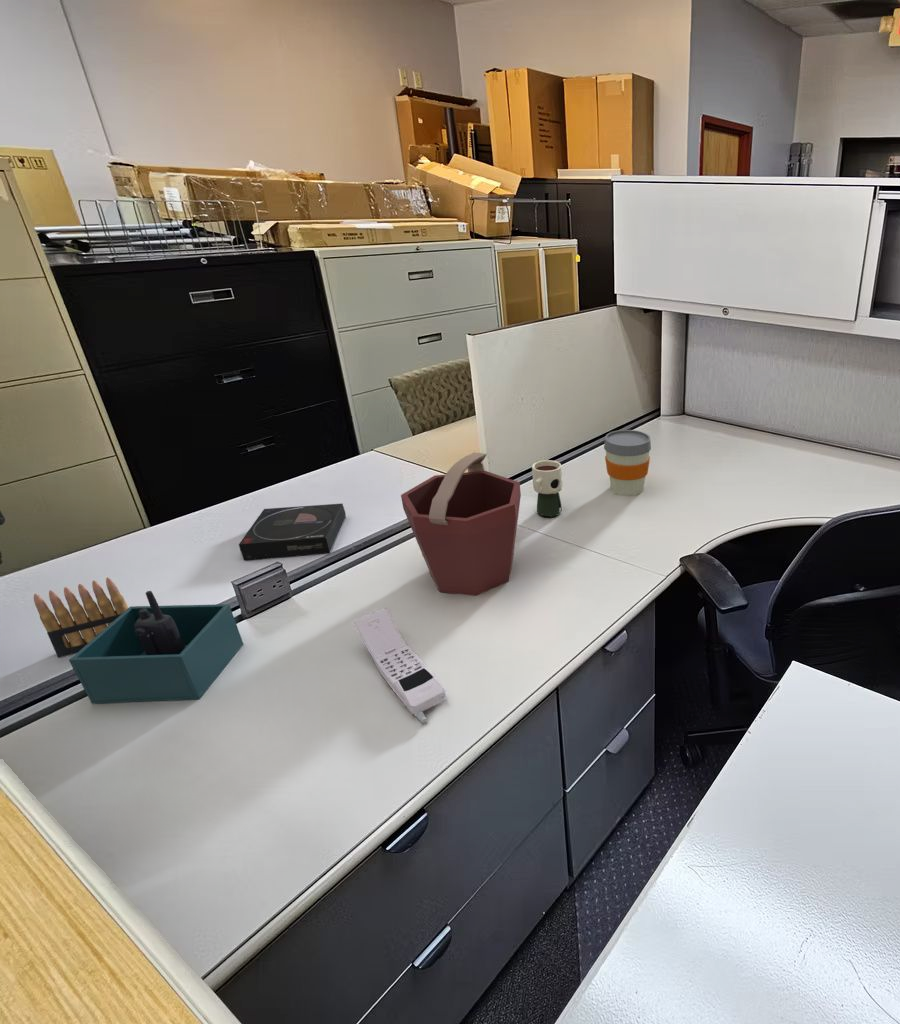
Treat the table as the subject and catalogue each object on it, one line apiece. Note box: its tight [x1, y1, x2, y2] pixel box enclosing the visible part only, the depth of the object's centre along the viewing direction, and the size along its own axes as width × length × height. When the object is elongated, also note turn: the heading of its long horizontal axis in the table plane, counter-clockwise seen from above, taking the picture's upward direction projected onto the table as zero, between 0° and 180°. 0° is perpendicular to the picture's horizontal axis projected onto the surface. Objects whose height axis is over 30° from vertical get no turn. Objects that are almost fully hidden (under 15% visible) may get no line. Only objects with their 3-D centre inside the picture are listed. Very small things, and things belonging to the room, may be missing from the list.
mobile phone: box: [352, 607, 447, 724], centre depth 101 cm, size 6×6×25 cm
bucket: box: [400, 451, 522, 596], centre depth 124 cm, size 24×22×25 cm
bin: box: [68, 603, 244, 705], centre depth 99 cm, size 15×13×9 cm
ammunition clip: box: [33, 577, 129, 658], centre depth 103 cm, size 11×2×12 cm, turn 126°
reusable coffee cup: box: [603, 429, 652, 497], centre depth 167 cm, size 13×13×15 cm
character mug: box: [531, 459, 564, 517], centre depth 152 cm, size 11×7×13 cm, turn 163°
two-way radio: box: [134, 590, 185, 655], centre depth 97 cm, size 6×4×15 cm
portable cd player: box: [238, 503, 347, 562], centre depth 139 cm, size 16×17×4 cm
